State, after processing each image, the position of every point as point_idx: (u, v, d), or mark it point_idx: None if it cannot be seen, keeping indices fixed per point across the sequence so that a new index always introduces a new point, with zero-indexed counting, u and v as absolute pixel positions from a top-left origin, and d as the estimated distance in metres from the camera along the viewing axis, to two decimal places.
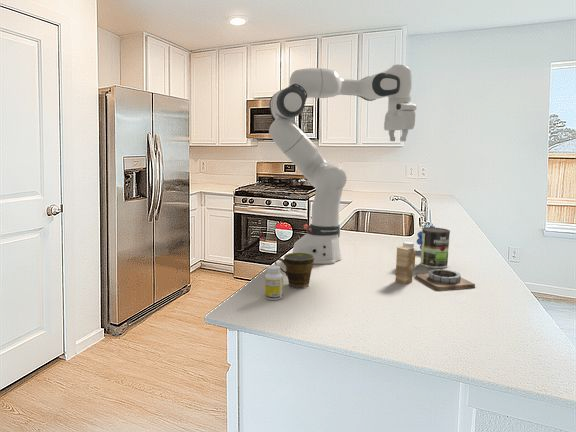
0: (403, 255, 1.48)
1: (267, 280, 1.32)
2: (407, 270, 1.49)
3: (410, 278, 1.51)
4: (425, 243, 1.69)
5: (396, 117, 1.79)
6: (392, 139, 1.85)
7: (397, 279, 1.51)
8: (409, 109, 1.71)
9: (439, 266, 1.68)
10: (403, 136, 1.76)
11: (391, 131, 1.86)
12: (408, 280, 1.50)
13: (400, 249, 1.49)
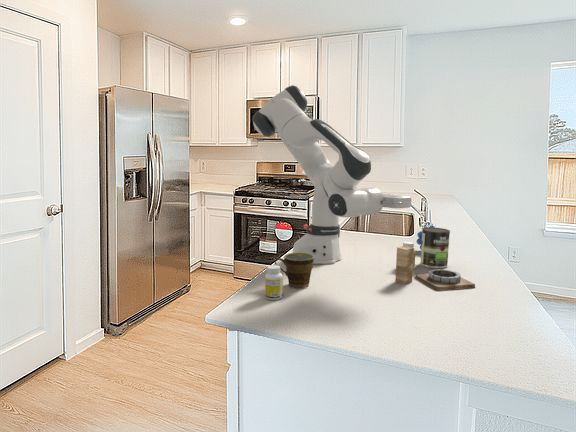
0: (403, 255, 1.48)
1: (267, 280, 1.32)
2: (407, 270, 1.49)
3: (410, 278, 1.51)
4: (425, 243, 1.69)
5: None
6: None
7: (397, 279, 1.51)
8: None
9: (439, 266, 1.68)
10: None
11: None
12: (408, 280, 1.50)
13: (400, 249, 1.49)
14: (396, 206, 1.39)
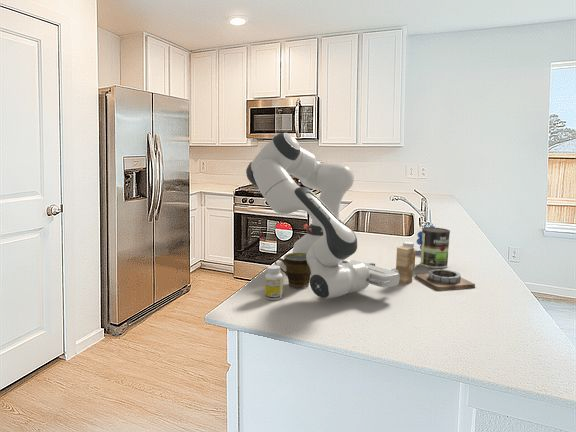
0: (403, 255, 1.48)
1: (267, 280, 1.32)
2: (407, 270, 1.49)
3: (410, 278, 1.51)
4: (425, 243, 1.69)
5: None
6: None
7: None
8: None
9: (439, 266, 1.68)
10: None
11: None
12: (408, 280, 1.50)
13: (400, 249, 1.49)
14: (383, 285, 1.30)
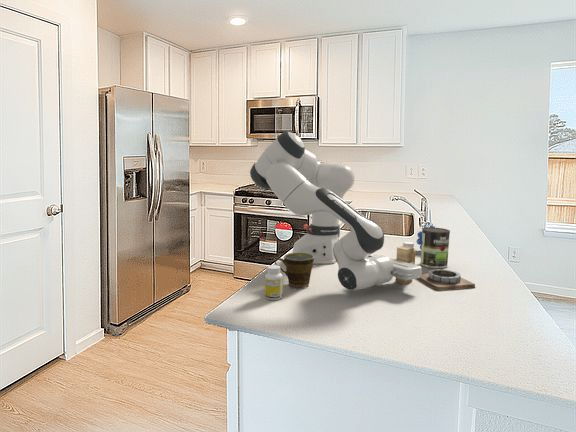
0: (403, 255, 1.48)
1: (267, 280, 1.32)
2: None
3: None
4: (425, 243, 1.69)
5: None
6: None
7: (397, 279, 1.51)
8: None
9: (439, 266, 1.68)
10: None
11: None
12: (408, 280, 1.50)
13: (400, 249, 1.49)
14: (407, 278, 1.38)
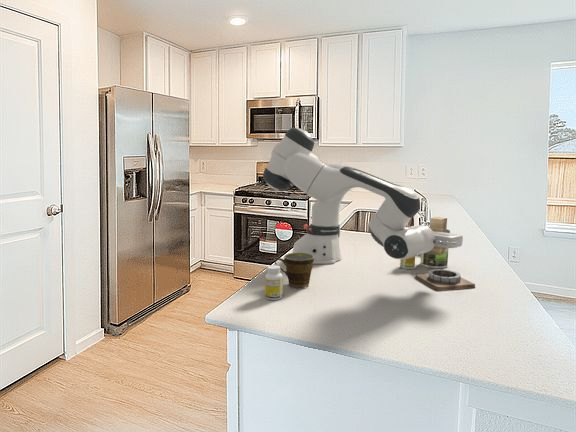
0: (438, 225, 1.44)
1: (267, 280, 1.32)
2: None
3: (443, 249, 1.47)
4: None
5: None
6: None
7: (430, 251, 1.47)
8: None
9: (439, 266, 1.68)
10: None
11: None
12: (442, 251, 1.46)
13: (434, 219, 1.45)
14: (450, 246, 1.34)
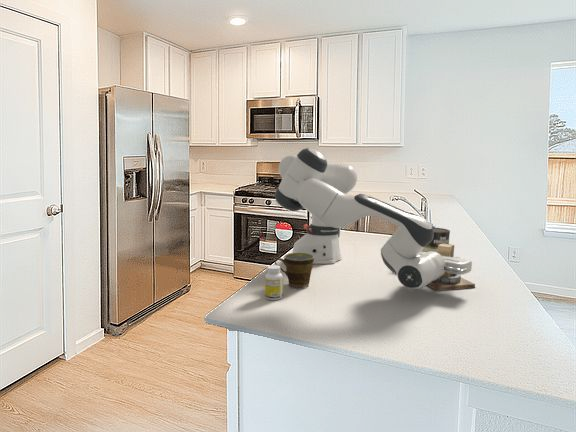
0: (446, 252, 1.47)
1: (267, 280, 1.32)
2: None
3: (451, 275, 1.50)
4: None
5: None
6: None
7: None
8: None
9: None
10: None
11: None
12: None
13: (442, 246, 1.48)
14: (461, 272, 1.36)
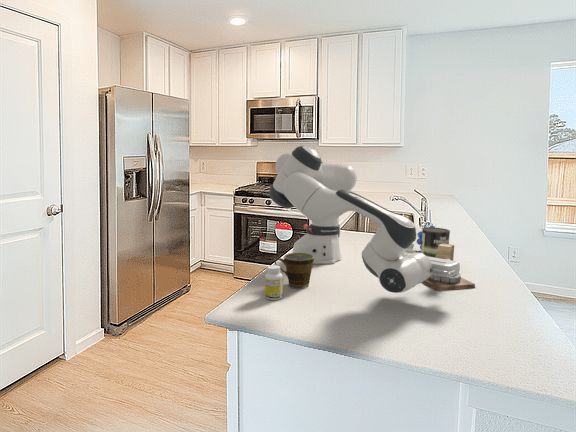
0: (446, 252, 1.47)
1: (267, 280, 1.32)
2: None
3: None
4: (425, 243, 1.69)
5: None
6: None
7: None
8: None
9: None
10: None
11: None
12: None
13: (442, 246, 1.48)
14: (448, 275, 1.27)
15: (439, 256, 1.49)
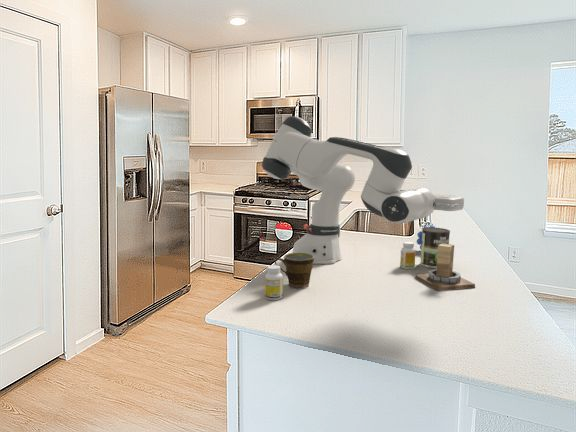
0: (446, 252, 1.47)
1: (267, 280, 1.32)
2: (449, 267, 1.48)
3: (451, 275, 1.50)
4: (425, 243, 1.69)
5: None
6: None
7: None
8: None
9: None
10: None
11: None
12: None
13: (442, 246, 1.48)
14: (451, 208, 1.23)
15: (439, 256, 1.49)
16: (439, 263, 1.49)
